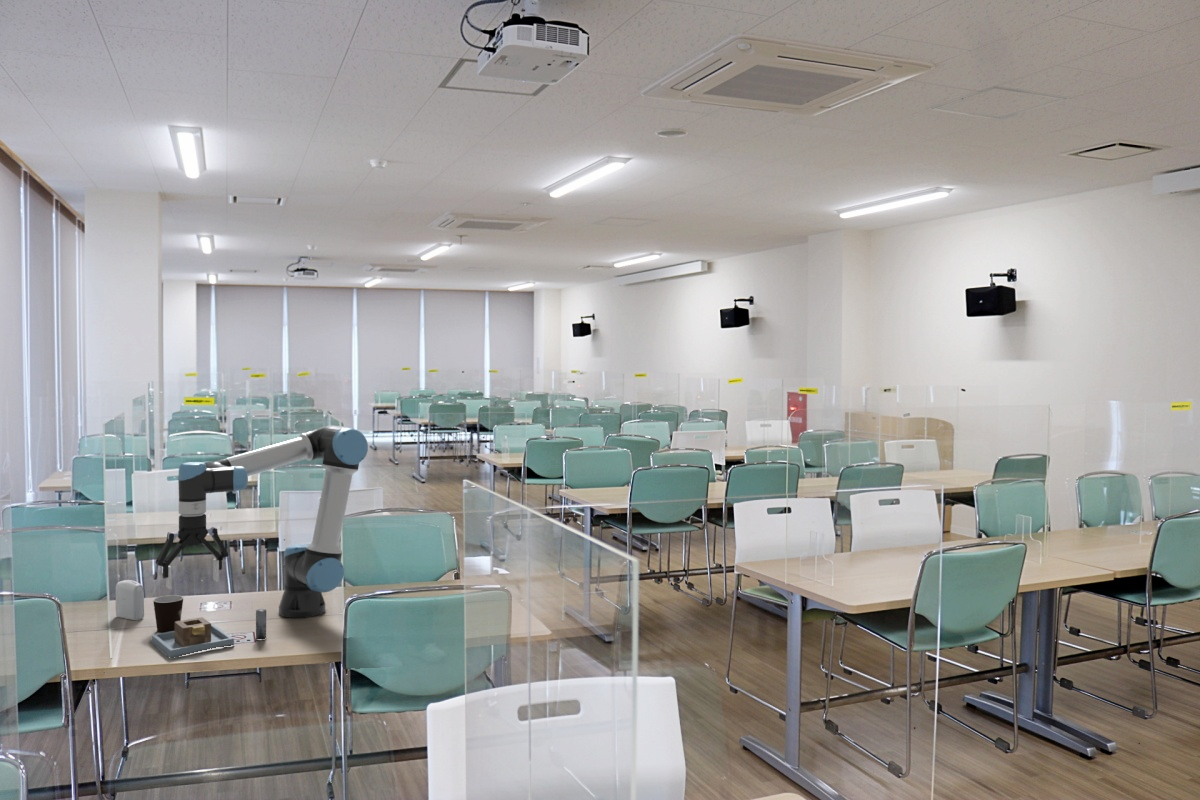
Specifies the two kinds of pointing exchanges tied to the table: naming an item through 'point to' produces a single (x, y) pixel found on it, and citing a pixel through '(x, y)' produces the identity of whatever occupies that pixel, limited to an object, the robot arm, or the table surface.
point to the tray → (172, 649)
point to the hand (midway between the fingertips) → (192, 584)
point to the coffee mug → (167, 612)
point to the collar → (192, 632)
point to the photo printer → (129, 600)
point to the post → (261, 624)
